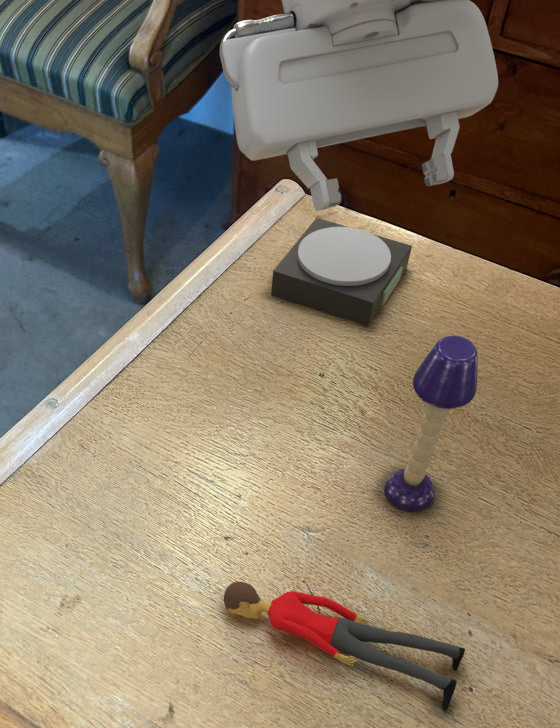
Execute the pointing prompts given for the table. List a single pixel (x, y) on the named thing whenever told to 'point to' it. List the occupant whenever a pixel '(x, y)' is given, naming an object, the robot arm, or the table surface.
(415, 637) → the person figure
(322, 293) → the kitchen scale
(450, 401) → the toy lamp
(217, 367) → the table surface
